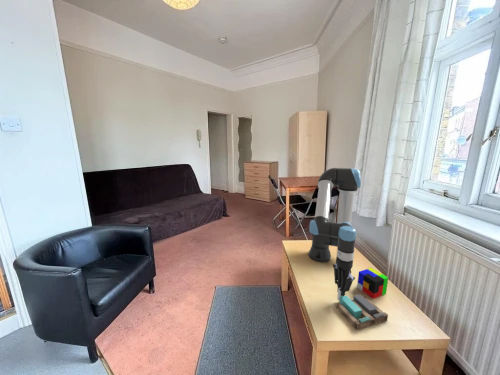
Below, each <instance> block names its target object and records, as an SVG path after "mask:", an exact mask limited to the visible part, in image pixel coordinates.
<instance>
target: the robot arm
mask: <svg viewBox="0 0 500 375" xmlns="http://www.w3.org/2000/svg"><path fill="white" fill-rule="evenodd" d="M361 180H362V179H361V171H360V170H359V169H358V168H349V167H346V168H344V167H341V168H340V167H332V168H328V169H327V170H325V171H324V172H323V173H322V174H321V175H320V176H319V178H318V181H317V187H318V192H317V200H316V207H315V213H314V219H311V220H310V222H309V233H310V234H312V239H311V246H310V249H309V250H308V257H309V259H311V260H313V261H315V262H318V263H327V262H330V261H331V258H332V255H331V252H330V247H336V259H335V260H336V261H335V263H334V264H332V267H333V268H332V269H333V275H334V284H335V285H336V286H337V299H336V300H338V302H339V301H340V297H342V296H346V292H349V291H350V289H351V287H352V284H353V282H354V280H355V279H356V277H355V276H353V275H352V269H353V264H354V257H355V245H356V239H357V230H356V228H354V227H353V225H352V219H353V218H352V217H353V210H354V209H353V208H354V201H355V200H354V199H355V193H356V192H358V189H359V188H361V186H362V184H361V182H362V181H361ZM334 187H337V190H338V192H339V196H338V205H337V206H338V208H337V210H338V211H337V216H336V217H337V218H336V222H330V221H329V219H330V211H331V210H330V207H331V200H332V199H331V198H332V190H333V189H334Z"/></svg>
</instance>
